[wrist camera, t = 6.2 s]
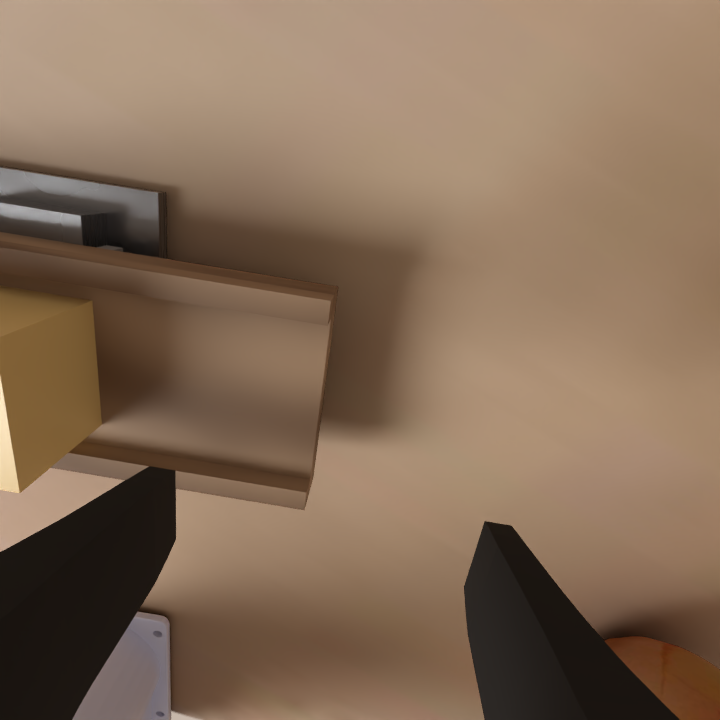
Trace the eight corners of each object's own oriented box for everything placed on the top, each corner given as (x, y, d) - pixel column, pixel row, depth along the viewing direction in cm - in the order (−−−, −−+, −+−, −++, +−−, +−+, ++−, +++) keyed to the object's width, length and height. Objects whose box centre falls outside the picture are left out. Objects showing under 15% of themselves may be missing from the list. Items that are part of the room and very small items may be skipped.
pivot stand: (169, 462, 21) (148, 489, 19) (2, 434, 21) (-35, 458, 19) (165, 192, 17) (137, 193, 15) (-46, 158, 17) (-100, 155, 15)
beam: (315, 468, 19) (304, 510, 17) (-193, 384, 19) (-276, 412, 17) (340, 283, 16) (331, 301, 14) (-261, 185, 16) (-375, 186, 14)
